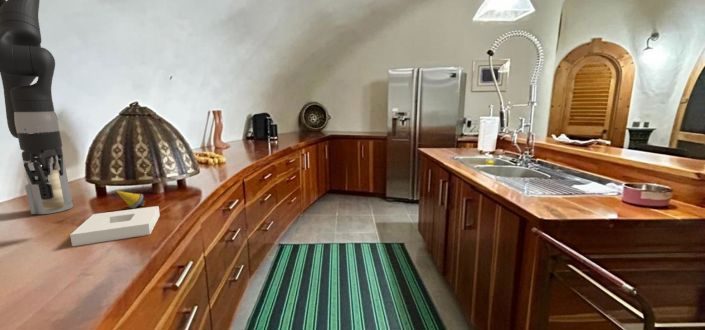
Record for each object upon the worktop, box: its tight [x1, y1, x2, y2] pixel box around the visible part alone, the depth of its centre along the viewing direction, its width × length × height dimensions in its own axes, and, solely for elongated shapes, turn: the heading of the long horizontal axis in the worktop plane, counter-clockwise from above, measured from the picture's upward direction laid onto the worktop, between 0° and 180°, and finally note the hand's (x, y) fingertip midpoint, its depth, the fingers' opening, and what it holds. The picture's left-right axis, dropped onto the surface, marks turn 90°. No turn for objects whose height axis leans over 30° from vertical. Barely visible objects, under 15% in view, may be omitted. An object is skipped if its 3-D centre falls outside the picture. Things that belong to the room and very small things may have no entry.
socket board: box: [69, 205, 161, 247], centre depth 84 cm, size 16×16×3 cm
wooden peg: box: [42, 169, 65, 211], centre depth 80 cm, size 4×4×10 cm
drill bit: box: [115, 190, 146, 210], centre depth 102 cm, size 5×5×10 cm
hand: (52, 196), depth 80 cm, fingers closed on wooden peg, 4 cm apart
